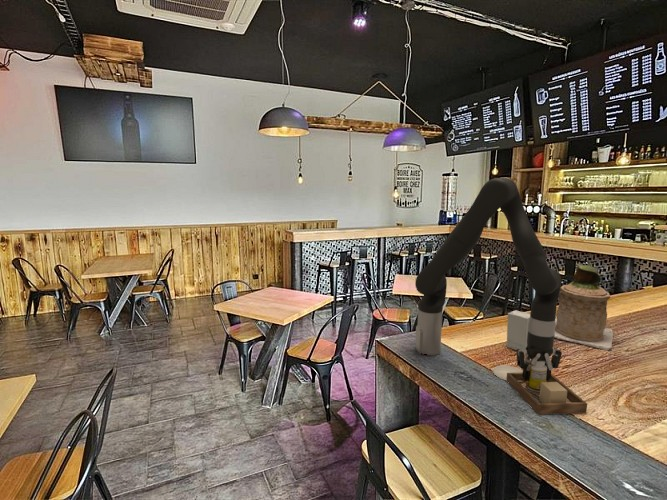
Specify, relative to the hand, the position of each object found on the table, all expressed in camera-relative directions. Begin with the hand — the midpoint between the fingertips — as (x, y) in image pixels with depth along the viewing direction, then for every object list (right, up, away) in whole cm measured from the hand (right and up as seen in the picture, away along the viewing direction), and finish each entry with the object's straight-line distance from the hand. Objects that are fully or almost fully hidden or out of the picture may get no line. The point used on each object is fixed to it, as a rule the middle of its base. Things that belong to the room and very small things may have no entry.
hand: (536, 379), depth 124 cm
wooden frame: (0, -4, -4) cm, 6 cm away
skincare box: (+9, +2, +30) cm, 31 cm away
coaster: (-4, -1, +9) cm, 10 cm away
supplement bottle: (0, -3, +1) cm, 3 cm away
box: (0, -5, -8) cm, 10 cm away
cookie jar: (+41, +5, +43) cm, 60 cm away
